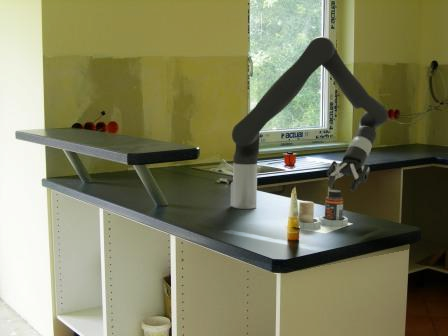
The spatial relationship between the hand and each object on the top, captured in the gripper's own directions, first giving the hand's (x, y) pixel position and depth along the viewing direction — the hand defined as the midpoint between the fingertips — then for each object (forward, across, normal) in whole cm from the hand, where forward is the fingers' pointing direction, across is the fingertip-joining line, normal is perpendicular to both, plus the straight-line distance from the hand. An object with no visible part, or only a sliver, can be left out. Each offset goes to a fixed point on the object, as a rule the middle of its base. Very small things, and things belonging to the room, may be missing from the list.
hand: (340, 188), depth 225 cm
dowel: (+18, -5, -1) cm, 19 cm away
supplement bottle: (+11, 0, +6) cm, 12 cm away
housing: (+15, -2, +3) cm, 16 cm away
